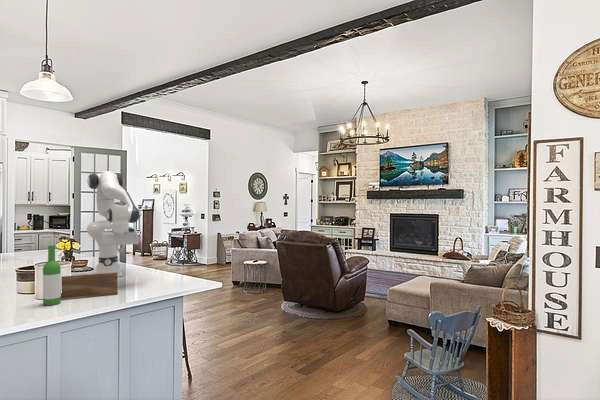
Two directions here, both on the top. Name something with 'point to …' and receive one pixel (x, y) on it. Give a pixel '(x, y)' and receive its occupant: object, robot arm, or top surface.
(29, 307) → the top surface
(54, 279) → the wine bottle
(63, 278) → the brown block
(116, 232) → the robot arm
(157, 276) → the top surface
